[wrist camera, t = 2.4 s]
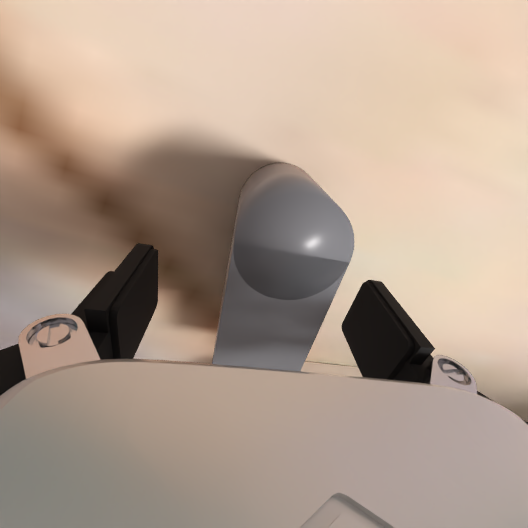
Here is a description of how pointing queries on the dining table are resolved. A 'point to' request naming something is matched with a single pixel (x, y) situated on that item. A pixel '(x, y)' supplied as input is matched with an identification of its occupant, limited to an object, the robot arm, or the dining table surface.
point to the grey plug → (280, 269)
